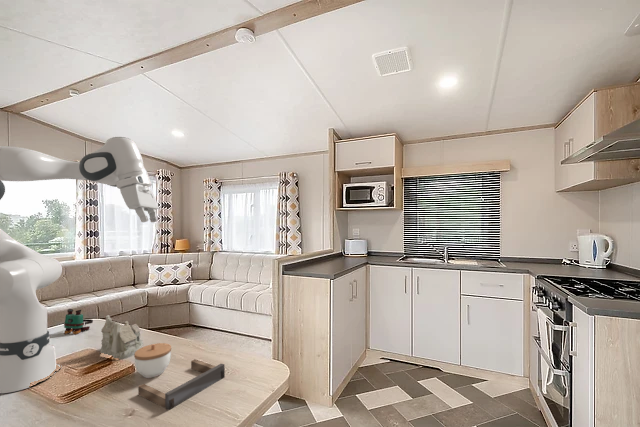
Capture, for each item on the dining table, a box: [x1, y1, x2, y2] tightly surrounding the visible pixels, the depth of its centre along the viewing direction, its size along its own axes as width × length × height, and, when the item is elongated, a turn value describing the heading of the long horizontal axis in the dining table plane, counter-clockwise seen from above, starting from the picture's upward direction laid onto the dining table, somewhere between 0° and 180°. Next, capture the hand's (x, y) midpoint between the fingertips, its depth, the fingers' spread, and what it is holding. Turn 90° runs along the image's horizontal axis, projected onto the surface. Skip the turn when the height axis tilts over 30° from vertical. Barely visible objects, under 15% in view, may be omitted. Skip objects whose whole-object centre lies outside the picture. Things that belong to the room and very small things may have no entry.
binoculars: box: [63, 308, 94, 335], centre depth 141 cm, size 9×11×10 cm
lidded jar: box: [133, 342, 172, 379], centre depth 100 cm, size 11×11×9 cm
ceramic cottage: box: [99, 315, 144, 360], centre depth 119 cm, size 16×16×15 cm
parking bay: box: [137, 358, 226, 411], centre depth 92 cm, size 14×19×4 cm
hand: (149, 221), depth 104 cm, fingers open, 8 cm apart
